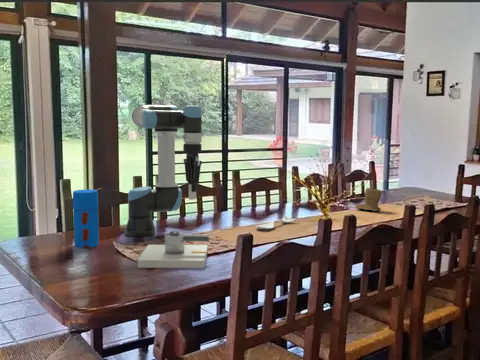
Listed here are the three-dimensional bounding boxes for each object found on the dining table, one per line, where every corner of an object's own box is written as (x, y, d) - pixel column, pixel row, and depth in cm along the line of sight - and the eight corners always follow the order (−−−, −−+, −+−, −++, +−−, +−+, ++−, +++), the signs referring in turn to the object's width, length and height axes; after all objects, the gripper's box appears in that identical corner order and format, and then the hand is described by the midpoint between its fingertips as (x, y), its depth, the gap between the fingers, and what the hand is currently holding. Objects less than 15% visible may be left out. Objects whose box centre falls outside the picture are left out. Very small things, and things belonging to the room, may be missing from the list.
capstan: (163, 254, 200) (163, 234, 199) (166, 249, 208) (166, 230, 207) (207, 254, 200) (207, 234, 199) (209, 249, 207) (209, 230, 206)
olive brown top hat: (384, 210, 321) (385, 188, 319) (375, 213, 312) (376, 189, 310) (363, 207, 331) (364, 185, 329) (354, 210, 322) (355, 187, 320)
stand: (137, 267, 192) (137, 259, 192) (148, 251, 216) (148, 243, 215) (204, 268, 192) (204, 259, 192) (207, 251, 216) (207, 244, 216)
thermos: (73, 248, 219) (71, 193, 216) (74, 242, 229) (73, 189, 226) (99, 247, 222) (97, 192, 219) (99, 241, 232) (97, 189, 229)
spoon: (298, 223, 280) (298, 217, 280) (265, 232, 255) (266, 226, 255) (285, 220, 286) (285, 215, 286) (252, 230, 261) (252, 223, 261)
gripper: (177, 142, 208) (178, 197, 211) (190, 144, 197) (190, 202, 200) (193, 142, 212) (193, 196, 215) (207, 143, 201) (207, 200, 203)
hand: (192, 199), depth 207 cm, fingers closed
